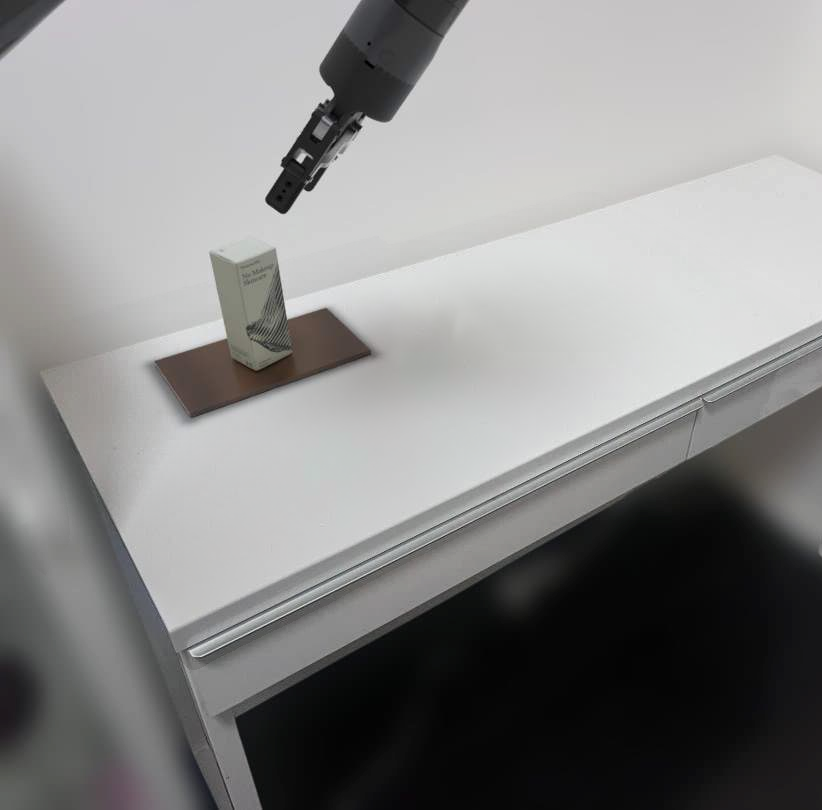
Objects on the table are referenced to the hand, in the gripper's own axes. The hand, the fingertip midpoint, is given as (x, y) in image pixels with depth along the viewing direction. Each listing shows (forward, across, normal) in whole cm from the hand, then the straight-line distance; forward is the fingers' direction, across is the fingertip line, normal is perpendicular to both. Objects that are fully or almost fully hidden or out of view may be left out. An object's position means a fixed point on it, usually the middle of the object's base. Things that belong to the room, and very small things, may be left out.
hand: (288, 196), depth 77 cm
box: (+18, -3, +7) cm, 19 cm away
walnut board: (+18, -3, +7) cm, 20 cm away
